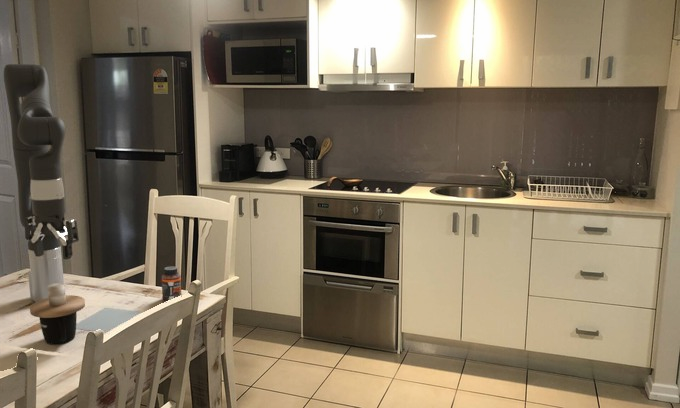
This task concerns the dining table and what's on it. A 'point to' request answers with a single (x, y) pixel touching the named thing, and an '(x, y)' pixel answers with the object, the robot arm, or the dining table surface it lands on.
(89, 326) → the mat
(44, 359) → the dining table surface
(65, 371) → the dining table surface
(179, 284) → the supplement bottle
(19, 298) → the dining table surface
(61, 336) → the mug
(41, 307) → the lid
